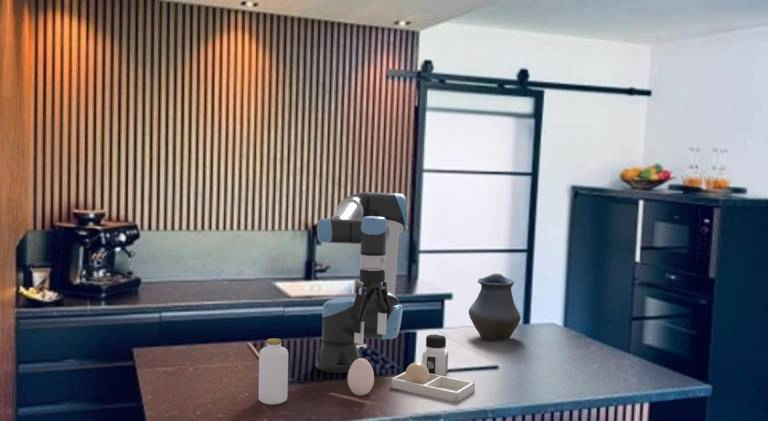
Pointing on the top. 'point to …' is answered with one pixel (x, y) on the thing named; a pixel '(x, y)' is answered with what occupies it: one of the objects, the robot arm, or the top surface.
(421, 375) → the beige ball
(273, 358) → the white bottle
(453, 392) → the tray
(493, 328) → the dark clay urn
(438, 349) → the container
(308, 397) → the top surface
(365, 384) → the egg
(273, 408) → the top surface
